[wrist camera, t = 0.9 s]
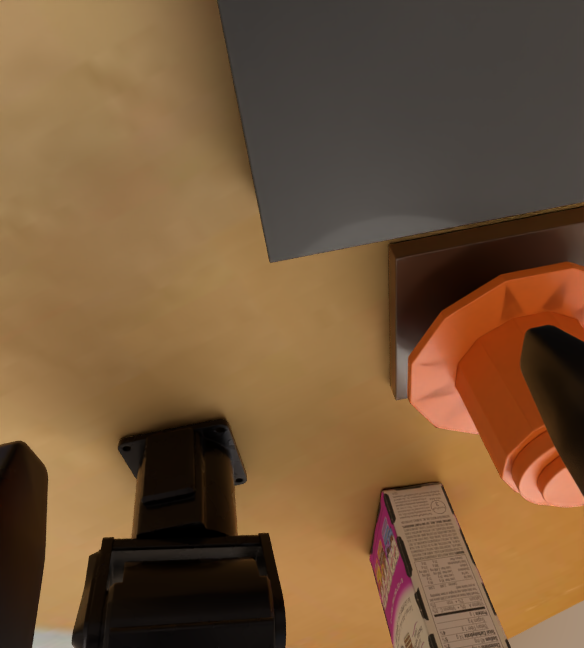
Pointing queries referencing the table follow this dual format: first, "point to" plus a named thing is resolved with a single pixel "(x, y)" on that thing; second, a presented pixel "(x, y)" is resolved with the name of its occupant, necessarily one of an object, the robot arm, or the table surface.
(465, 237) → the hat stand
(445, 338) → the hat
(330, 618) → the table surface
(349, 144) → the tv stand
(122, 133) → the table surface
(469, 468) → the table surface
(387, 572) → the candy bar box
